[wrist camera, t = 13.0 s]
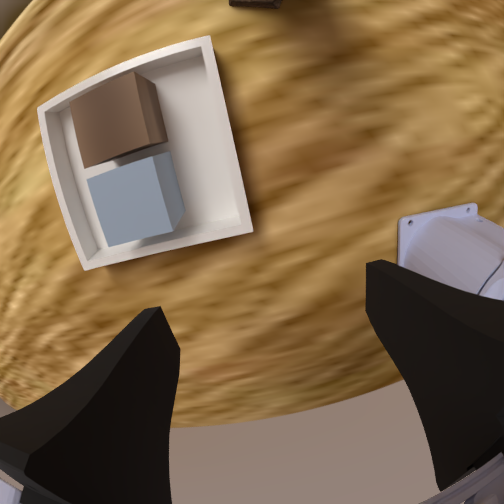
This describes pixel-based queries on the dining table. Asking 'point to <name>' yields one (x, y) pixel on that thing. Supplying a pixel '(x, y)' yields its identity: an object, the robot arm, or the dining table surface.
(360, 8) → the dining table surface
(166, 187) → the gray block
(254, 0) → the sculpture
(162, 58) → the dish
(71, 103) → the walnut block
